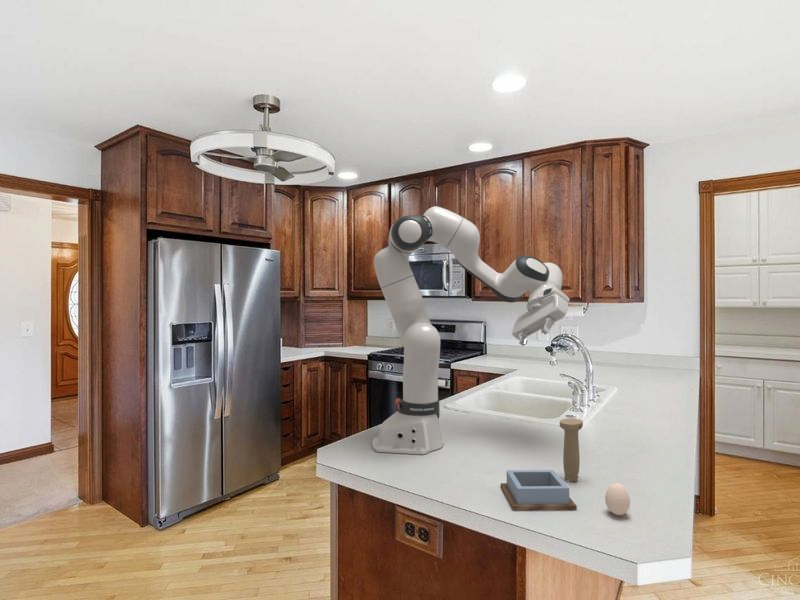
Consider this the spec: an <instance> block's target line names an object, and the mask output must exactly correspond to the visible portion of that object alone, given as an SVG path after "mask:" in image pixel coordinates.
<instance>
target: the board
mask: <svg viewBox="0 0 800 600" xmlns="http://www.w3.org/2000/svg"><path fill="white" fill-rule="evenodd" d="M500 489H501V491H502V493H503V495H504V497H505V496H506V497H505V498H506V500H507V503H508V504H509V506H510V508H511V510H512V511H514V512H516V511H517V512H520V511H522V512H524V511H525V512H526V511H528V510H529V511H530V512H531V511H534V510H537V511H539V510H542V511H577V509H578V506H577V504H576V503H575V502H574V501H573V499H572V498H571V497H570V496H569V504H517V502H516V500H515V498H514V497H513V495H512V493H511V491H510V490H509V488H508V486H507V482H500ZM529 511H528V512H529Z"/></svg>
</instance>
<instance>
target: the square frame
mask: <svg viewBox="0 0 800 600" xmlns="http://www.w3.org/2000/svg"><path fill="white" fill-rule="evenodd" d="M506 483H507V486H508V488H509V490H510V491H511V493H512V495H513V497H514V498H515V500H516V502H517V504H569V497H570V487H569V486H568V485H567V484H566V483H565V481H564V480H563V479H562V478H561V477H560V476H559V475H558V473H556V471H555V470H554V469H523V470H522V469H513V470H512V469H509V470H506Z"/></svg>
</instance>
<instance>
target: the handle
mask: <svg viewBox="0 0 800 600" xmlns="http://www.w3.org/2000/svg"><path fill="white" fill-rule="evenodd" d="M583 426H584V421H583V420H582V419H580V418H573V417H569V418H562V419H560V420H559V427H560V428H561V429H562V430H564V431H563V432H564V437H563V440H564V441H563V452H562V453H563V455H562V457H563V458H562V459H563V461H562V463H563V471H564V480H565V481H568V482H571V483H572V482H574V481H575V482H578V480H579V473H580V463H581V462H580V457H581V455H580V445H579V444H580V443H579V431H580V430H582V428H583Z"/></svg>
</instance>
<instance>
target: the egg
mask: <svg viewBox="0 0 800 600" xmlns="http://www.w3.org/2000/svg"><path fill="white" fill-rule="evenodd" d="M604 500H605V504H606V507H607V509H608V511H610V512H611V513H612V514H613V515H615V516H623V515H625V514H626V513H627V512H628V511H629V509H630V506H631V499H630V494H629V492H628V491H627V489H626V487H625V486H624V485H622V484H621V483H619V482H614V483H612V484H610V485H609V486H608V487H607V489H606V491H605V495H604Z"/></svg>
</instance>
